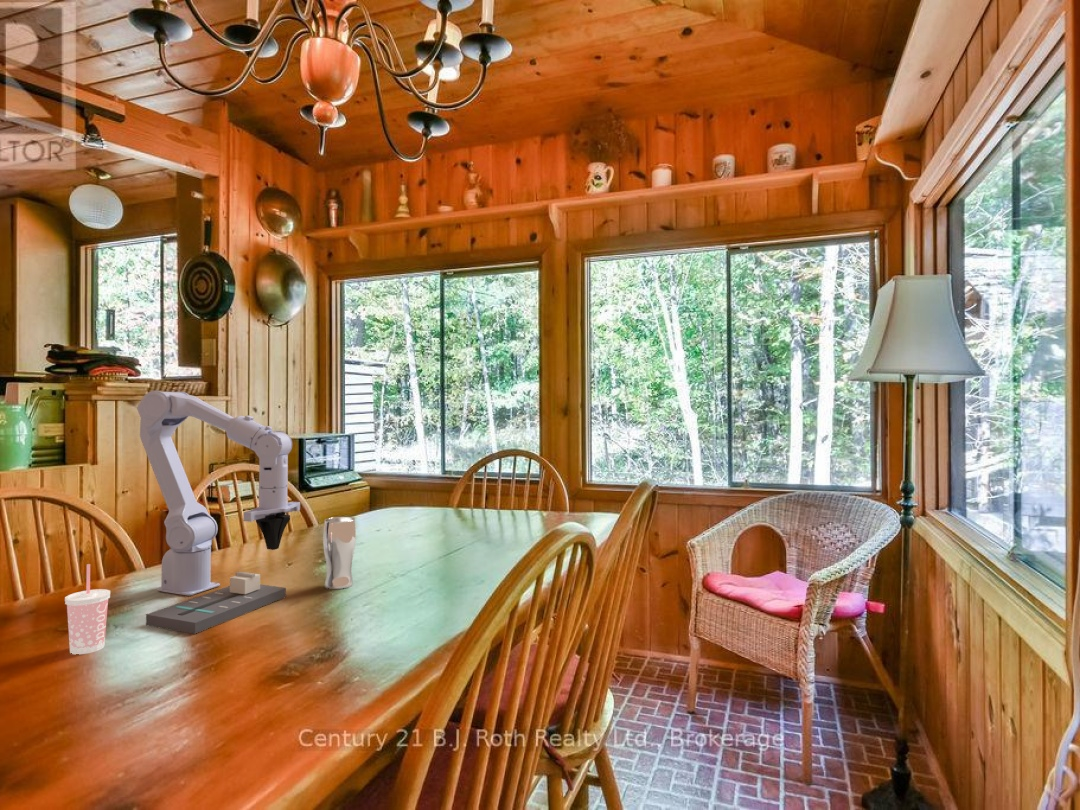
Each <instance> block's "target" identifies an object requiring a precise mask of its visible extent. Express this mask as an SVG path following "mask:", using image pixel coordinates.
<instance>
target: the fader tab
mask: <svg viewBox="0 0 1080 810" xmlns="http://www.w3.org/2000/svg"><path fill="white" fill-rule="evenodd" d="M260 584H261V574H259V573H253V572H252V573H251V572H245V571H236V572H235V575H234V576H231V577H229V586H230V592H232V593H239V594H248V593H250V592H253V591H256V590H258V589H260Z"/></svg>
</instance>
